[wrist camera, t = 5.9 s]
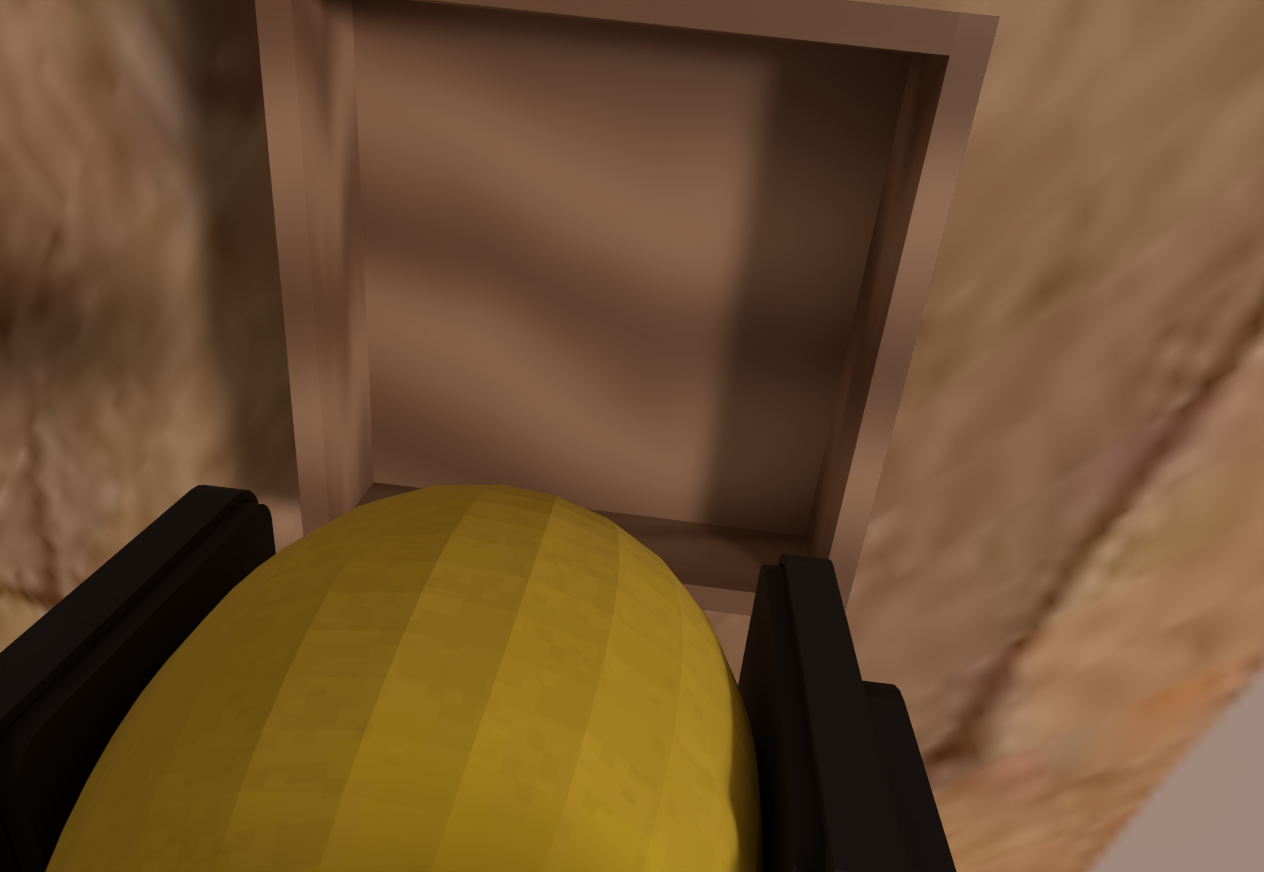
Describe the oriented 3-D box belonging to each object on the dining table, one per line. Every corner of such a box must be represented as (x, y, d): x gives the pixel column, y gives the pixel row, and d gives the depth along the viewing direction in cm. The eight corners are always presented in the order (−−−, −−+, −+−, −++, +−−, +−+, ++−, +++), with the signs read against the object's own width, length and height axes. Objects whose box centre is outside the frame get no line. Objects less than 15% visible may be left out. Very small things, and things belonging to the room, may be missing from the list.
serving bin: (328, -44, 21) (248, -63, 17) (947, 21, 20) (999, 16, 17) (357, 491, 28) (305, 558, 24) (823, 550, 27) (841, 627, 23)
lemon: (278, 618, 12) (-412, 1536, 4) (425, 286, 9) (-496, 1063, 2) (618, 777, 12) (498, 1777, 5) (830, 506, 10) (1129, 1611, 3)
